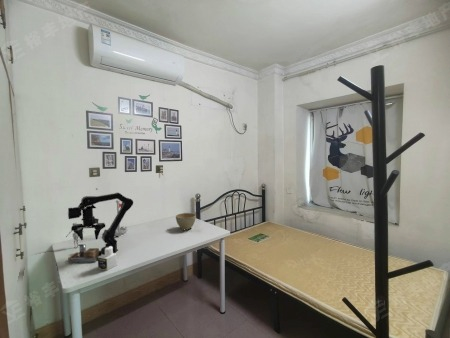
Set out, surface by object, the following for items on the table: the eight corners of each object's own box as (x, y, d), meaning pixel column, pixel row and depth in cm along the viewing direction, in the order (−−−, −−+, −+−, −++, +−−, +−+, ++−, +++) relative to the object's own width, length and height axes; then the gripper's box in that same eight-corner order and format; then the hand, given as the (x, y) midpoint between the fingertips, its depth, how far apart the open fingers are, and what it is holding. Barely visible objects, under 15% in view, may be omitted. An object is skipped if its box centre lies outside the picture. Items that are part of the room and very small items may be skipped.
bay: (109, 250, 154) (109, 242, 153) (95, 262, 136) (95, 253, 136) (80, 251, 153) (80, 243, 153) (62, 263, 136) (62, 254, 136)
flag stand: (118, 238, 178) (117, 201, 177) (106, 236, 183) (105, 200, 182) (131, 233, 190) (129, 198, 189) (119, 231, 195) (118, 198, 194)
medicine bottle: (97, 268, 128) (97, 248, 128) (108, 263, 135) (107, 244, 134) (107, 270, 126) (106, 250, 125) (117, 265, 132) (116, 245, 132)
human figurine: (67, 250, 155) (66, 225, 154) (65, 249, 157) (64, 224, 157) (86, 245, 165) (85, 221, 164) (84, 244, 167) (82, 220, 166)
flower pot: (179, 233, 188) (179, 219, 187) (173, 227, 203) (173, 214, 203) (199, 229, 197) (198, 216, 196) (191, 224, 212) (191, 212, 212)
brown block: (99, 255, 145) (98, 248, 145) (93, 259, 139) (93, 252, 139) (89, 255, 145) (89, 248, 145) (84, 260, 139) (83, 252, 139)
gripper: (108, 212, 150) (110, 234, 151) (80, 213, 149) (82, 235, 150) (100, 216, 139) (101, 240, 140) (69, 217, 138) (71, 242, 139)
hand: (89, 239), depth 142 cm, fingers open, 9 cm apart
